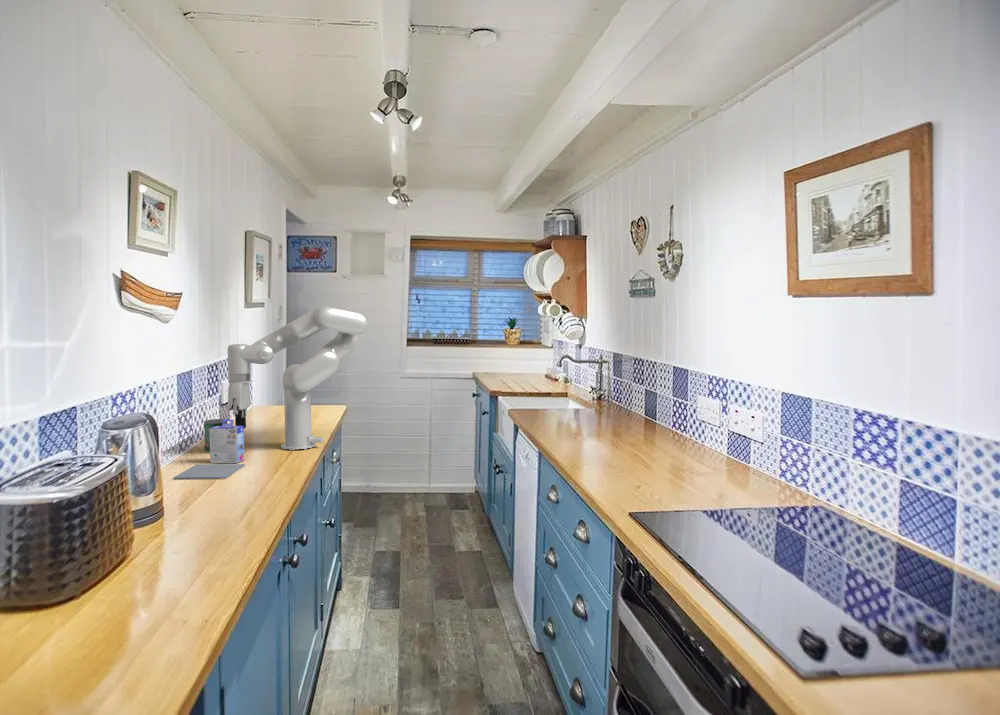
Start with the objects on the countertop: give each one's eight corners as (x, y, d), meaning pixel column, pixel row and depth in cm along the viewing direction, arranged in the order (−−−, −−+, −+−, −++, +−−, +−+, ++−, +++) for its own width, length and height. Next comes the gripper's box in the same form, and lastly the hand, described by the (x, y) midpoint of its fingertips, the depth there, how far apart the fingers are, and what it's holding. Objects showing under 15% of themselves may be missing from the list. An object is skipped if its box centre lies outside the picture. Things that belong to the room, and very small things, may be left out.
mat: (245, 465, 207) (245, 464, 207) (226, 479, 191) (226, 477, 191) (196, 466, 206) (196, 464, 206) (173, 479, 190) (173, 477, 190)
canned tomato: (222, 452, 226) (221, 422, 225) (200, 452, 226) (199, 422, 225) (231, 447, 234) (231, 418, 233) (211, 447, 234) (210, 418, 233)
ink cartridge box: (245, 459, 215) (244, 418, 214) (238, 463, 209) (237, 421, 208) (217, 459, 215) (216, 418, 214) (209, 463, 210) (208, 421, 208)
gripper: (236, 376, 230) (238, 424, 232) (220, 380, 215) (222, 432, 217) (257, 376, 231) (258, 424, 232) (242, 380, 216) (243, 432, 217)
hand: (240, 428), depth 224 cm, fingers closed
